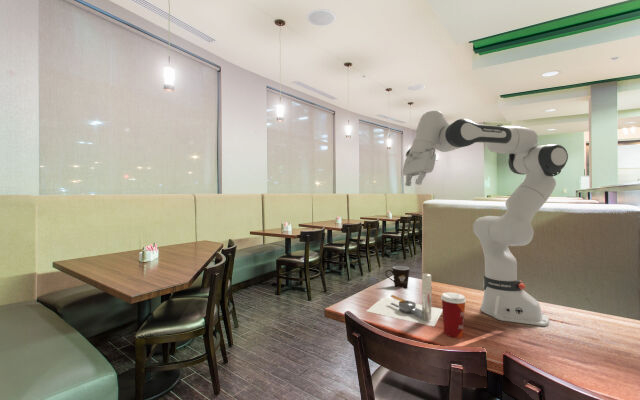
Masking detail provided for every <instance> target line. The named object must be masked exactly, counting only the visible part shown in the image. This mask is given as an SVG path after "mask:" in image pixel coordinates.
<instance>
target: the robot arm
mask: <svg viewBox="0 0 640 400" xmlns="http://www.w3.org/2000/svg"><path fill="white" fill-rule="evenodd" d="M538 137H539V135H538V133H537V131H535V130H533V129H532V128H529V127H524V126H523V127H522V126H519V125H518V126H517V125H500V126H498V125H489V124H479V123H476V122H474V121H472V120H470V119H468V118H459V119H457V120H455V121H454V122H453V123H449V122H448V121H447V120H446V118H445V117H444V113H442V112H441V111H437V110H432V111H431V110H430V111H427V112H425V113H423V114H422V115H421V117H420V119H419V122H418V125H417V128H416V130H415V137H414V139H413V141H412V145H411V147H409V149H408V150H407V152H406V153H405V157H406V158H405V160H404V165H403V168H402V175H403V176H405V186H406V187H411V185H412V180H413V177H416V176H417V178H416V180H415V185H418V186H420V185H422V184H423V181H424V179H425V178H426V175H427V174H430V173H432V172H433V170H434V168H435V164H436V159H437V155H436V150H437V151H439V152H441V153H448V152H451V151H455V150H457V149H460V148H465V147H466V148H467V147H469V146H472V145H473V144H475V143H482V144H484V143H485V144H486V145H485V146H486V148H487V149H488V150H489V152H492V153H496V154H502V155H503V154H508V167H509V170H510V171H511V172H512V173H514V174H517V175H526V176H525V178H524V179H523V182H521V183H520V184H519V186H517V188H516V189H515V190H514V192H513V193H512V194H510V195H509V197H507V200H506V201H505V207H506V210H505V211H506V212H504V214H503V215H500V216H498V215H497V216H496V215H486V216H485V215H484V216H480V217H478V218H477V219H475V221H474V222H473V224H472V231H473V233H474V235H475V237H476V238H477V239H478V240H479V243H480V246H481V248H482V251H483V258H484V275H483V279H482V280H483V281H482V282H483V283H482V284H483V285H482V286H483V289H484V290H483V298H482V303H481V306H480V311H481V312H483V313H484V314H486V315H488V316H490V317H493V318H494V319H496V320H499V321H502V322H503V321H504V322H511V323H518V324H527V325H532V326H538V327H539V326H541V327H546V326H548V325H549V324H550V321H549V317H548V316H547V315H546V313H544V312H542V309H541V306H540V303H539V301H538V300H537V299H536V298H535V297H534V296H532V295H530V294H529V293H528V292H526V291H525V290H524V289H526V285H525V283H524V282H523V281H522V280H519V279H518V261H517V258H516V257H515V256H514V255H513V253H512V252H511V251H510V249H509V247H523V246H526V245H528V244H530V243H531V242H532V240H533V238H534V236H535V235H534V233H535V232H534V227H533V226H532V221H533V218H534V217H535V216H536V214H538V212H539V210H540V209H541V208H542V207H543V206H544V205H545V203H546V202H547V201H548V200H549V198H550V196H551V195H552V193H553V191H554V190H555V187H556V185H557V182H556V179H555V176H557V175H560V173H561V172H562V170H563V169H564V168H565V166H566V164H567V162H568V160H569V154H568V152H567V151H568V150H567V149H566V147H564V146H563V145H561V144H554V143H551V144H545V145H539V144H538V141H539V138H538Z"/></svg>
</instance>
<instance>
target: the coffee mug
mask: <svg viewBox="0 0 640 400" xmlns="http://www.w3.org/2000/svg"><path fill="white" fill-rule="evenodd" d="M388 272H390V273H391V274H392V275H393V279H392V278H391V277H389V276H388V275H387V273H388ZM384 274H385V276H386V277H387V278H388V279H389V280H390V281H392V282H393V283H394V288H397V287H399V288H402V289H405V290H406V289H408V284H409V277H410V276H409V275H410V267H408V266H405V265H395V266H392V270H391V269H387V270H385V273H384Z"/></svg>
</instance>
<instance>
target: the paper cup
mask: <svg viewBox="0 0 640 400" xmlns="http://www.w3.org/2000/svg"><path fill="white" fill-rule="evenodd" d="M440 299H441V306H442V308H441V309H443V312H442V323H443V324H442V325H443V333H444V334H445V335H446V336H447V337H450V338H454V339H455V338H456V339H460V338H463V337H464V323H465V312H466V311H465V310H466V309H465V307H466V306H465V305H466V303H467V300H466V297H465V295H463V294H462V293H458V292H450V291H449V292H443V293H442V294H441V296H440Z"/></svg>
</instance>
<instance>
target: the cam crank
mask: <svg viewBox="0 0 640 400" xmlns="http://www.w3.org/2000/svg"><path fill="white" fill-rule="evenodd" d="M421 275H422V276H421V280H422V281H421V283H422V284H421V287H422V288H421V296H422V297H421V302H422V303H421V305H422V310H420V309H417V308H416V304H417V303H415V302H414V301H412V300H405V299H404V298H400V297H399V296H397V295H394V294H392V295H390V297H391V299H394V300H399V301H400V302H399V311H401V312H403V313H413V314H415V315H417V316H419V317H421V318H423V319H425V320H431V307H432V274H431V273H422V274H421Z"/></svg>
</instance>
